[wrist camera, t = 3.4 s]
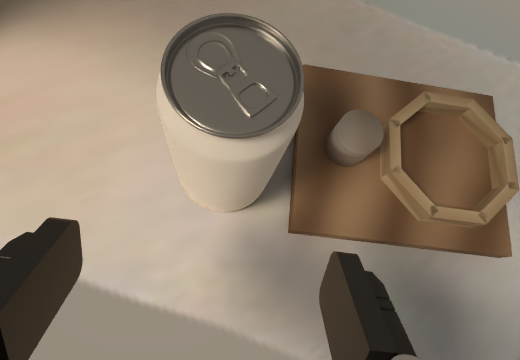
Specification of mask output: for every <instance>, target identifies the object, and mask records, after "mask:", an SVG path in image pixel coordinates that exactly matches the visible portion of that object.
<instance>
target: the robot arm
mask: <svg viewBox="0 0 520 360" xmlns="http://www.w3.org/2000/svg"><path fill="white" fill-rule="evenodd" d="M81 268H82V248H81V238H80V227H79V223H78V221H76V220H69V219H60V218H52V217H50V218H48V219H46V220H45V221H44V222H43V224H42V225H41V226H40V227H39V228H38V229H37V230H36V231H35V232H34V233H31V232H26V233H24V234H22V235H20V236H19V237H17V238H15V239H13V240H11V241H10V242H8V243H7V244H6V245H5V246H4V247H3V248H2V249H1V250H0V360H28V359H29V358H30V356H31V354H32V353H33V351H34V349H35V348H36V346H37V345H38V343H39V341H40V340H41V338H42V336H43V335H44V333H45V331H46V330H47V328H48V327H49V325H50V323H51V322H52V320H53V319H54V317H55V315H56V314H57V312H58V310H59V309H60V307H61V305H62V304H63V302H64V301H65V299H66V297H67V295H68V294H69V292H70V291H71V289H72V288H73V286H74V284H75V283H76V281H77V279H78V277H79V275H80V272H81ZM319 301H320V308H321V312H322V317H323V321H324V325H325V330H326V334H327V339H328V343H329V348H330V352H331V357H332V360H422V359H420V358H417V356H416V354H415V352H414V350H413V347H412V345H411V343H410V341H409V339H408V337H407V334H406V332H405V330H404V328H403V326H402V324H401V321H400V319H399V317H398V315H397V313H396V312H395V308H394V306H393V304H392V302H391V301H390V300H389V295H388V293H387V291H386V289H385V287H384V285H383V283H382V282H381V281H380V280H379V279H378V278H377V277H376V276H375V275H374V274H373V273H372V272H370V271H364V268H363V266H362V263H361V261H360V259H359V257H358V255H357V254H352V253H343V252H333V253H332V254H331V256H330V259H329V262H328V265H327V268H326V271H325V274H324V277H323V280H322V283H321V287H320V294H319Z"/></svg>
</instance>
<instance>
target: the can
mask: <svg viewBox="0 0 520 360" xmlns="http://www.w3.org/2000/svg"><path fill="white" fill-rule="evenodd" d="M303 89H304V71H303V67H302V63H301V60H300V58H299V55H298V53H297V51H296V50H295V48H294V47H293V45H292V44H291V43H290V41H289V40H288V39H287V38H286V37H285V36H284V35H283V34H282V33H281V32H280V31H278V30H277V29H276V28H274V27H273V26H271V25H269V24H268V23H266V22H264V21H262V20H259V19H257V18H254V17H250V16H247V15H242V14H233V13H222V14H214V15H209V16H205V17H202V18H200V19H197V20H195V21H193V22H191V23H189V24H188V25H186V26H185V27H183V28H182V29H181V30H180V31H179V32H178V33H177V34H176V35H175V36H174V37H173V38H172V39H171V41H170V42H169V44H168V46H167V48H166V50H165V52H164V55H163V58H162V62H161V71H160V74H159V77H158V81H157V89H156V97H157V106H158V111H159V115H160V119H161V122H162V126H163V129H164V133H165V136H166V139H167V143H168V146H169V149H170V152H171V155H172V159H173V162H174V165H175V168H176V171H177V174H178V177H179V180H180V183H181V185H182V187H183V189H184V190H185V192H186V193H187V195H188V196H189V197H190V198H191V199H192V200H193V201H194V202H196V203H197V204H199V205H200V206H202V207H204V208H206V209H209V210H213V211H218V212H231V211H236V210H239V209H242V208H244V207H246V206H248V205H250V204H251V203H252V202H254V201H255V200H256V199H257V198H258V197H259V196H260V195H261V193H262V192H263V190H264V189H265V187H266V185H267V184H268V182H269V180H270V178H271V177H272V175H273V173H274V171H275V169H276V168H277V166H278V164H279V162H280V160H281V158H282V157H283V155H284V153H285V151H286V149H287V147H288V145H289V144H290V142H291V140H292V138H293V136H294V134H295V132H296V130H297V128H298V125H299V123H300V120H301V117H302V113H303V107H304V93H303Z"/></svg>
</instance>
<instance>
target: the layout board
mask: <svg viewBox="0 0 520 360" xmlns="http://www.w3.org/2000/svg"><path fill="white" fill-rule="evenodd" d="M302 67H303V71H304V89H303V93H304V107H303V113H302V117H301V120H300V123H299V125H298V128H297V130H296V132H295V145H294V159H293V173H292V187H291V201H290V215H289V229H288V233H295V234H303V235H312V236H320V237H329V238H337V239H346V240H354V241H362V242H371V243H379V244H388V245H396V246H405V247H413V248H422V249H430V250H438V251H447V252H455V253H464V254H472V255H481V256H489V257H498V258H501V257H511V256H512V251H511V242H510V234H509V226H508V218H507V210H506V203H507V202H508V201H509V200H510V199H511V198H512V197H513V196H514V195H515V194H516V193H517V191H518V190H519V185H518V178H517V170H516V163H515V156H514V148H513V141H512V138H511V137H510V136H509V135H508V134H507V133H506V132H505V131H504V130H503V129H502V128H501V127H500V126H499V125H498V124H497V123H496V120H495V112H494V104H493V96H488V95H482V94H476V93H471V92H465V91H459V90H453V89H447V88H441V87H435V86H429V85H423V84H417V83H411V82H405V81H399V80H393V79H387V78H381V77H375V76H369V75H363V74H357V73H351V72H345V71H339V70H333V69H327V68H321V67H316V66H310V65H304V64H303V66H302Z"/></svg>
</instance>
